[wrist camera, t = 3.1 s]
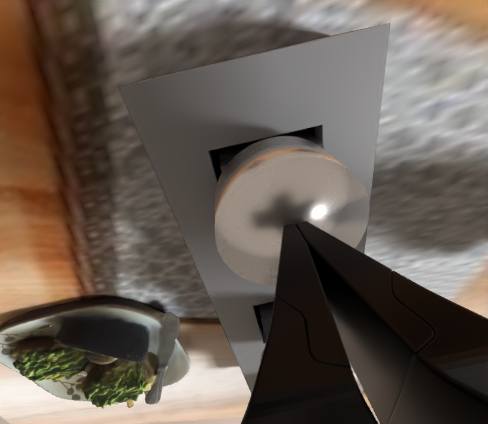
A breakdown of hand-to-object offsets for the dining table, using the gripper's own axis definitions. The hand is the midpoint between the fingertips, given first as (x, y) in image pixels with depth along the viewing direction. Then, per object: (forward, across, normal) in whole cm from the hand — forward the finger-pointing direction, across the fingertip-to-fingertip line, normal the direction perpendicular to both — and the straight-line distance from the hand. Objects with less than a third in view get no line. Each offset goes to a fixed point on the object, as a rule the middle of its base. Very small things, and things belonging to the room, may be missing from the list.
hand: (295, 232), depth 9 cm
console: (+8, 0, +11) cm, 14 cm away
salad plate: (+9, +19, +17) cm, 27 cm away
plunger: (+7, 0, 0) cm, 7 cm away
